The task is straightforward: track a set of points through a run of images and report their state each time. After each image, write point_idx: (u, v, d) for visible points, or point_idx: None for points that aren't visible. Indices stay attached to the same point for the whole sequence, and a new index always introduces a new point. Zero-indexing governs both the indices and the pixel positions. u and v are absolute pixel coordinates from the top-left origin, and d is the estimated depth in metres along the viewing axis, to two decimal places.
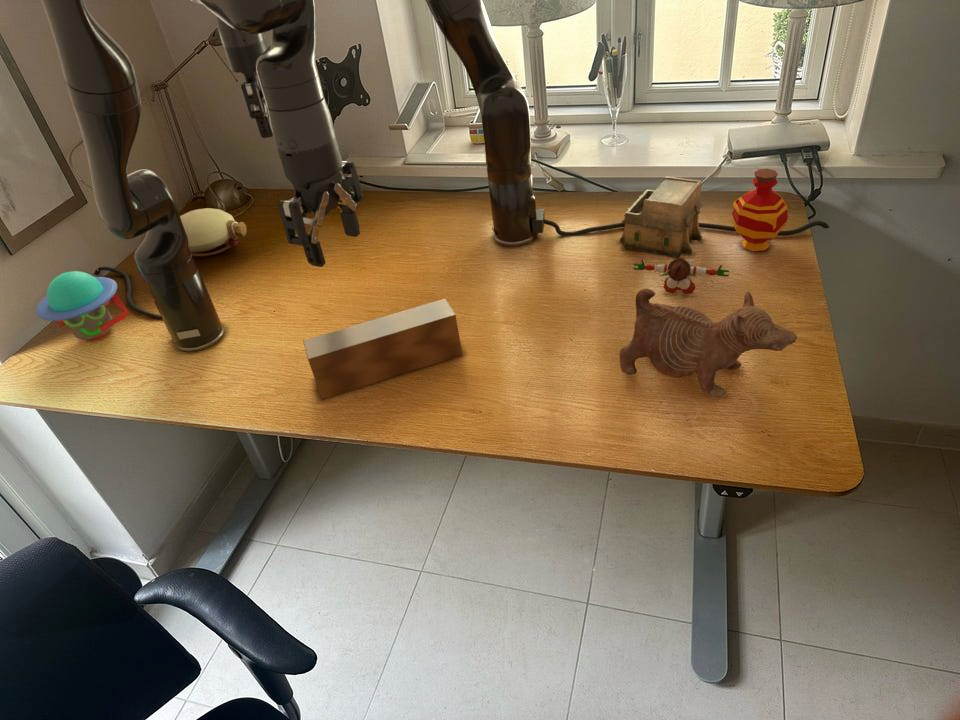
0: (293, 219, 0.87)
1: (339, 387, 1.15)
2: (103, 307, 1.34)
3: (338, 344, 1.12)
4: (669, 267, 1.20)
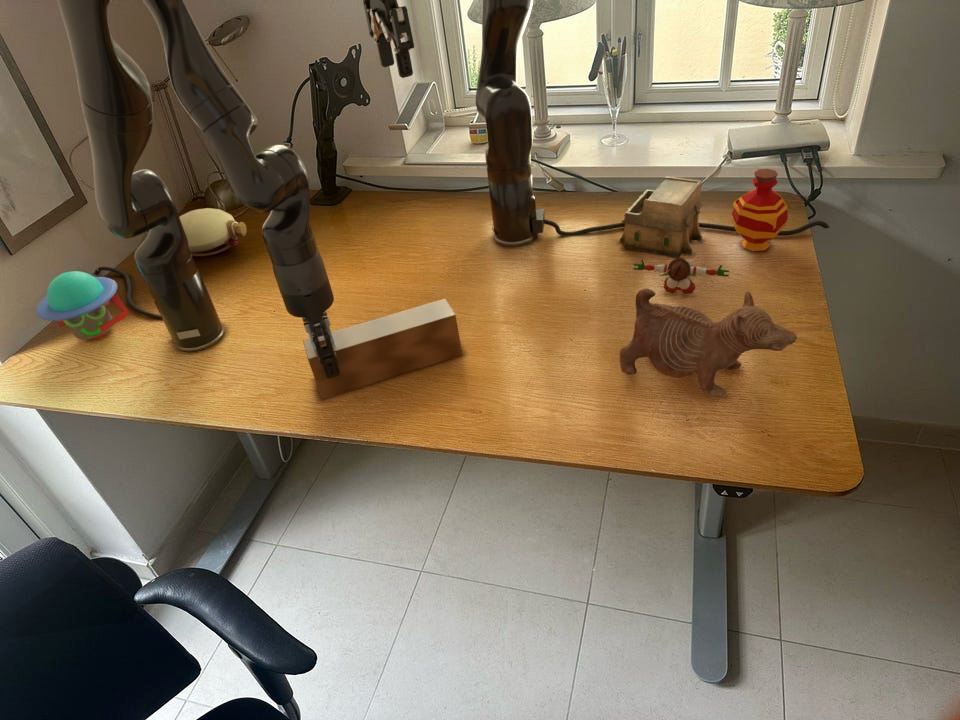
0: (329, 346, 1.05)
1: (339, 387, 1.15)
2: (103, 307, 1.34)
3: (338, 344, 1.12)
4: (669, 267, 1.20)
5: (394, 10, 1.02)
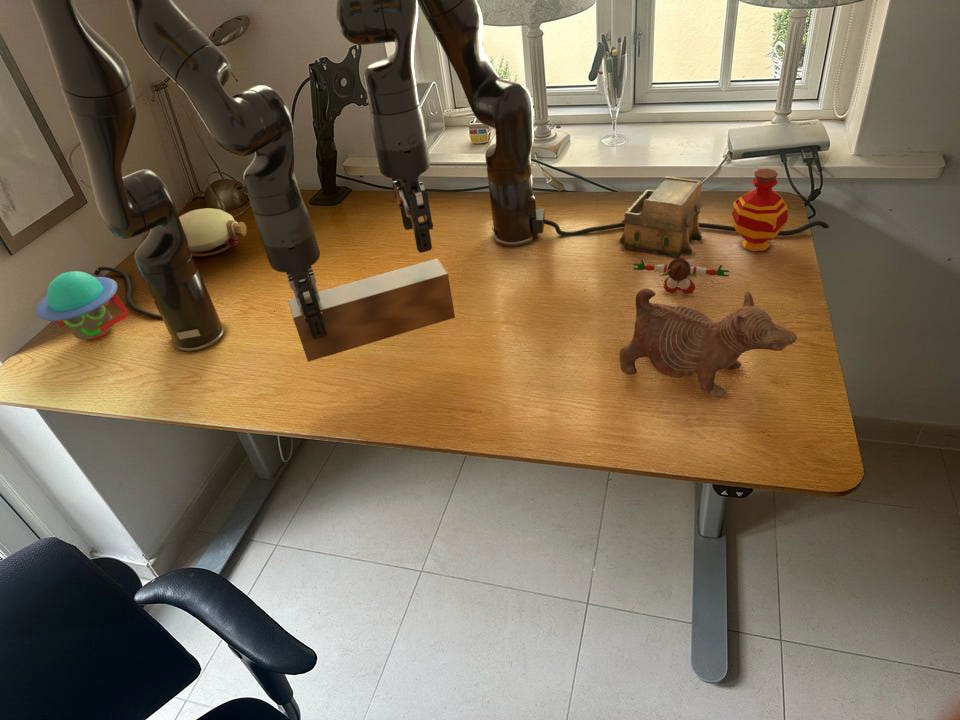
0: (314, 303, 1.00)
1: (326, 349, 1.10)
2: (103, 307, 1.34)
3: (325, 303, 1.07)
4: (669, 267, 1.20)
5: (413, 195, 0.97)
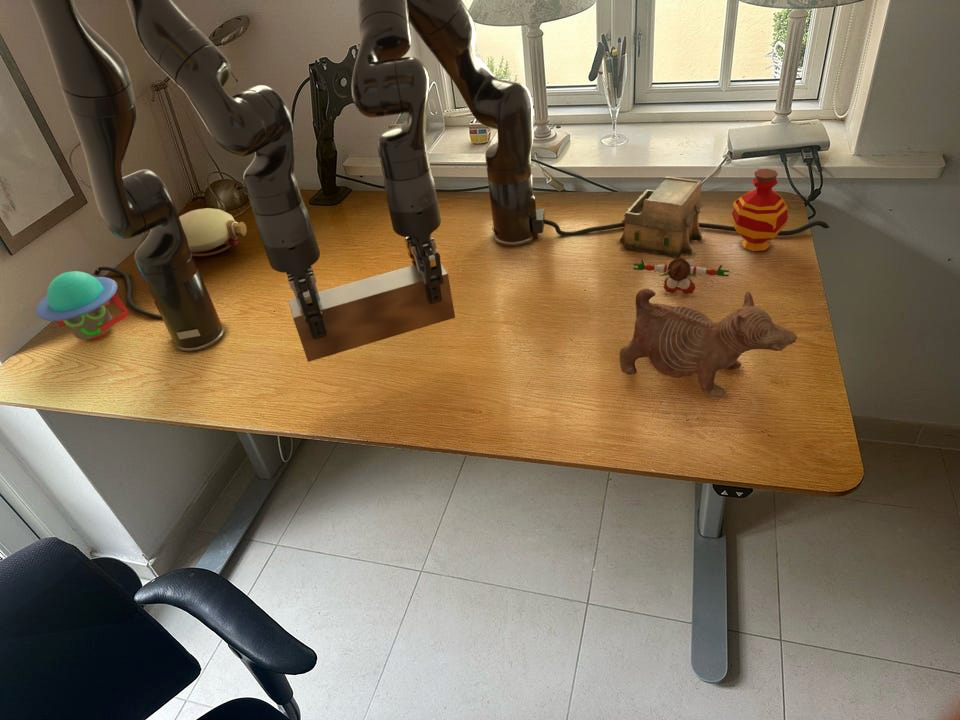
0: (314, 303, 1.00)
1: (326, 349, 1.10)
2: (103, 307, 1.34)
3: (325, 303, 1.07)
4: (669, 267, 1.20)
5: (427, 259, 1.03)
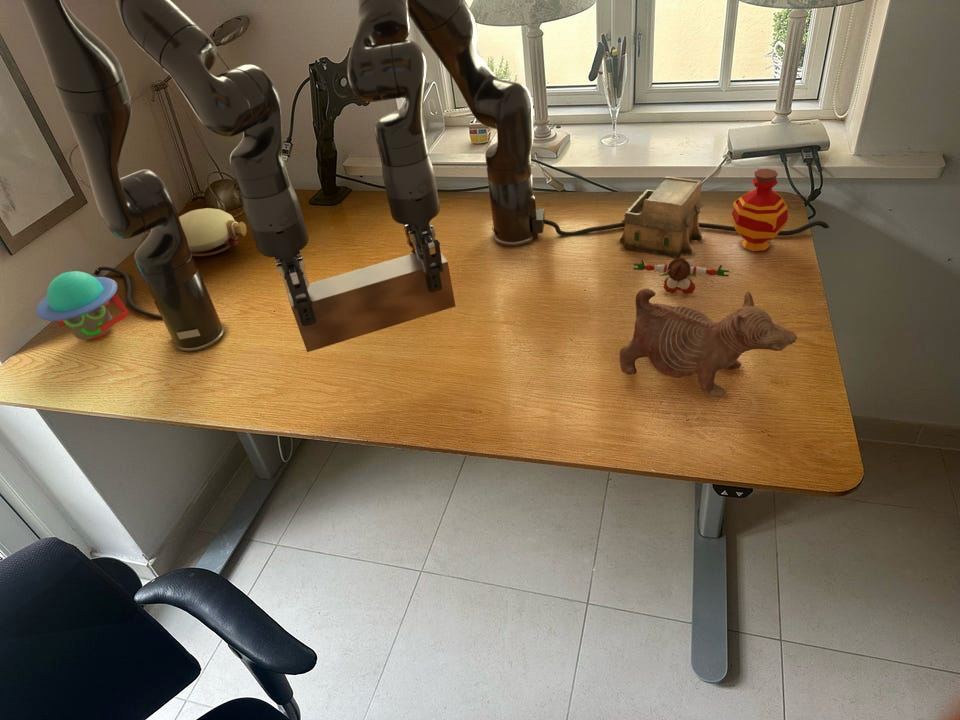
0: (302, 284, 0.98)
1: (325, 339, 1.09)
2: (103, 307, 1.34)
3: (324, 292, 1.06)
4: (669, 267, 1.20)
5: (426, 246, 1.01)
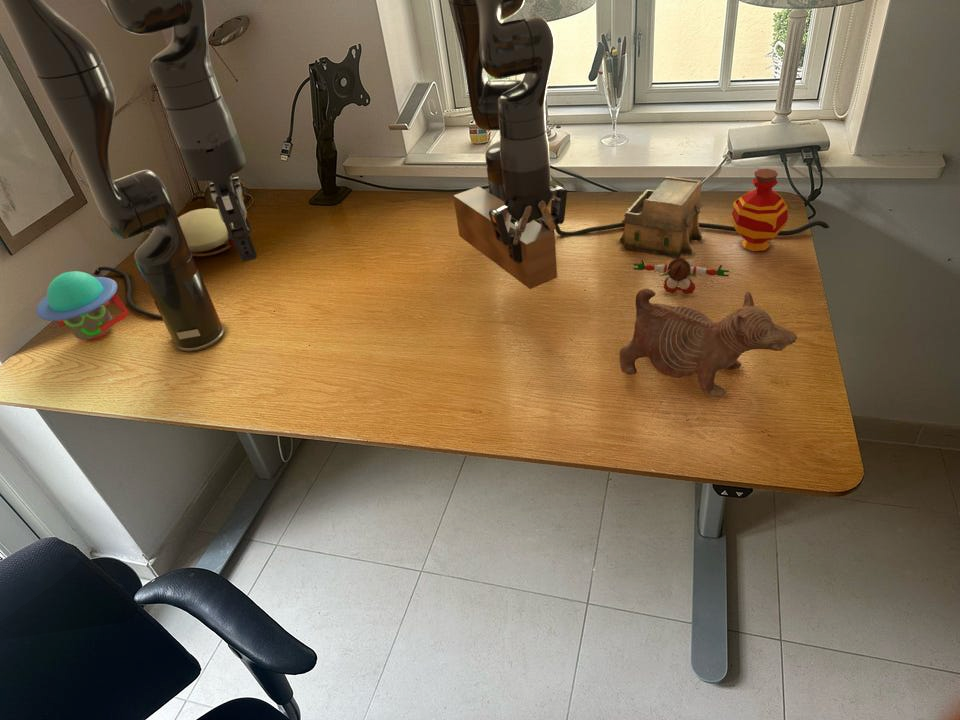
0: (236, 210, 0.89)
1: (466, 236, 1.31)
2: (103, 307, 1.34)
3: (474, 201, 1.26)
4: (669, 267, 1.20)
5: (490, 212, 1.09)
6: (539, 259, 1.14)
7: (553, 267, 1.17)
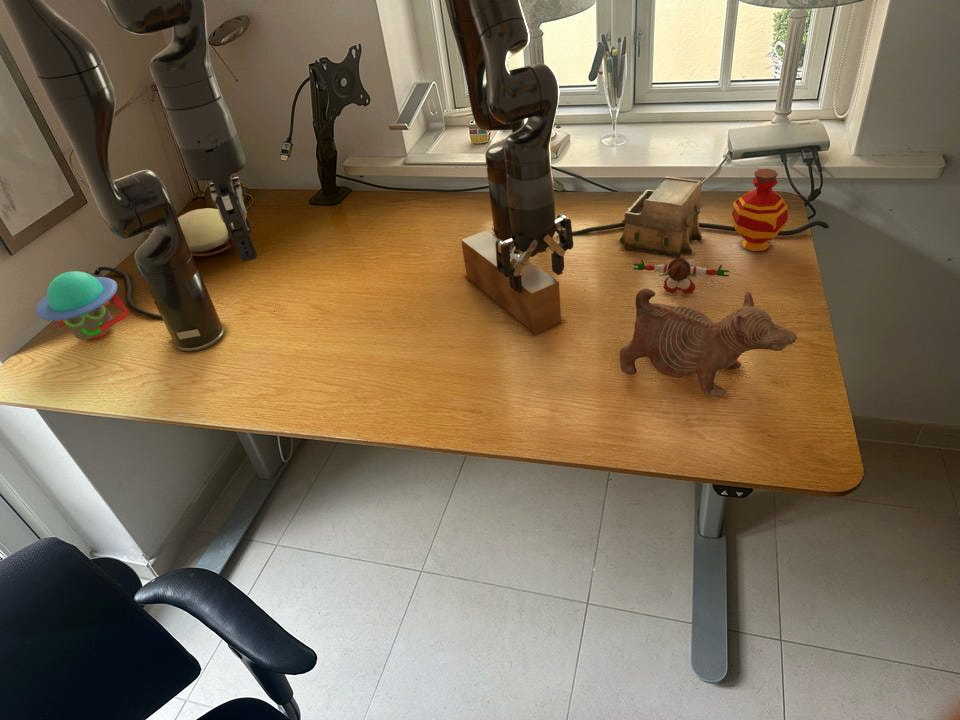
0: (236, 210, 0.89)
1: (473, 278, 1.37)
2: (103, 307, 1.34)
3: (481, 247, 1.32)
4: (669, 267, 1.20)
5: (497, 242, 1.12)
6: (544, 306, 1.20)
7: (557, 313, 1.23)
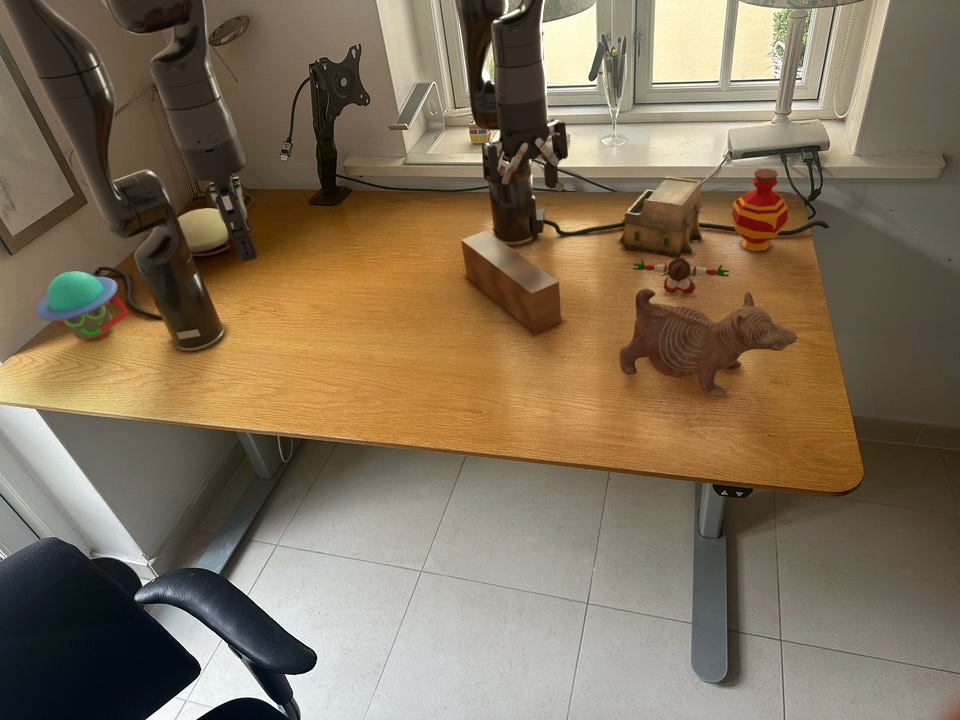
0: (236, 210, 0.89)
1: (473, 278, 1.37)
2: (103, 307, 1.34)
3: (481, 247, 1.32)
4: (669, 267, 1.20)
5: (484, 144, 1.02)
6: (544, 306, 1.20)
7: (557, 313, 1.23)
